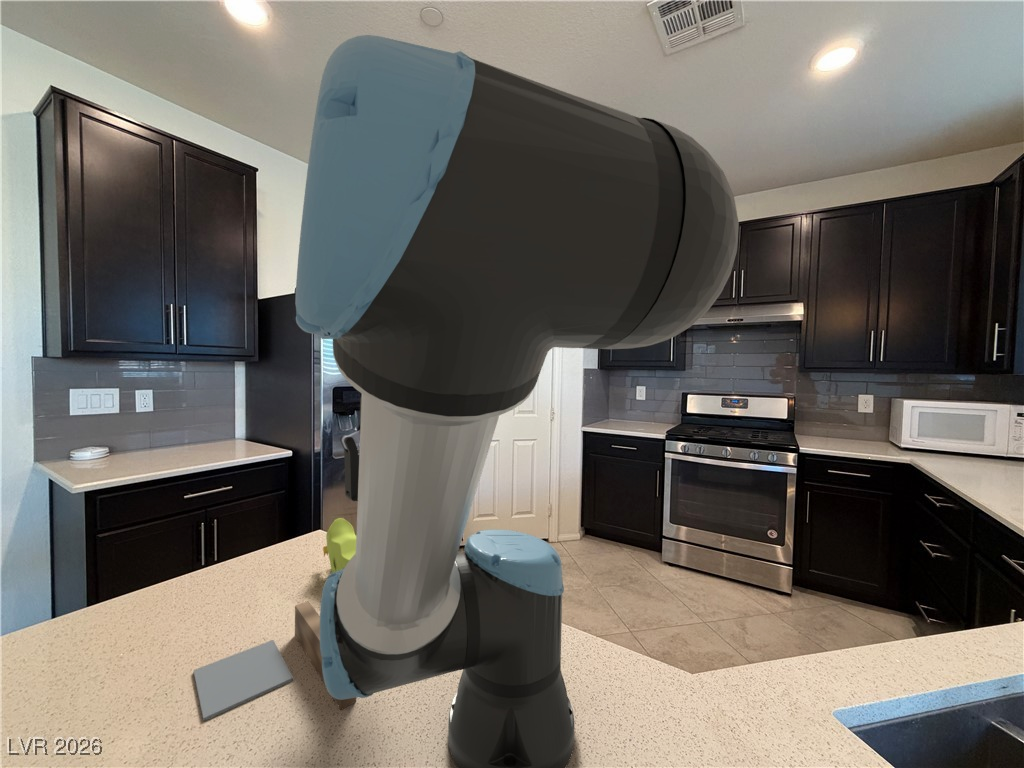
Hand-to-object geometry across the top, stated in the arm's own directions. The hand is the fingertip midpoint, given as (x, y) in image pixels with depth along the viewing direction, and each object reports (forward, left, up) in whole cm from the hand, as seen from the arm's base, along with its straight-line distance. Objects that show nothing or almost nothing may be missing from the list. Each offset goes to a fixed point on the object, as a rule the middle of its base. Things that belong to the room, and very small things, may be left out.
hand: (382, 537), depth 65 cm
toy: (+22, -3, -17) cm, 28 cm away
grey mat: (+5, +18, -17) cm, 25 cm away
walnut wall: (0, +9, -17) cm, 19 cm away
